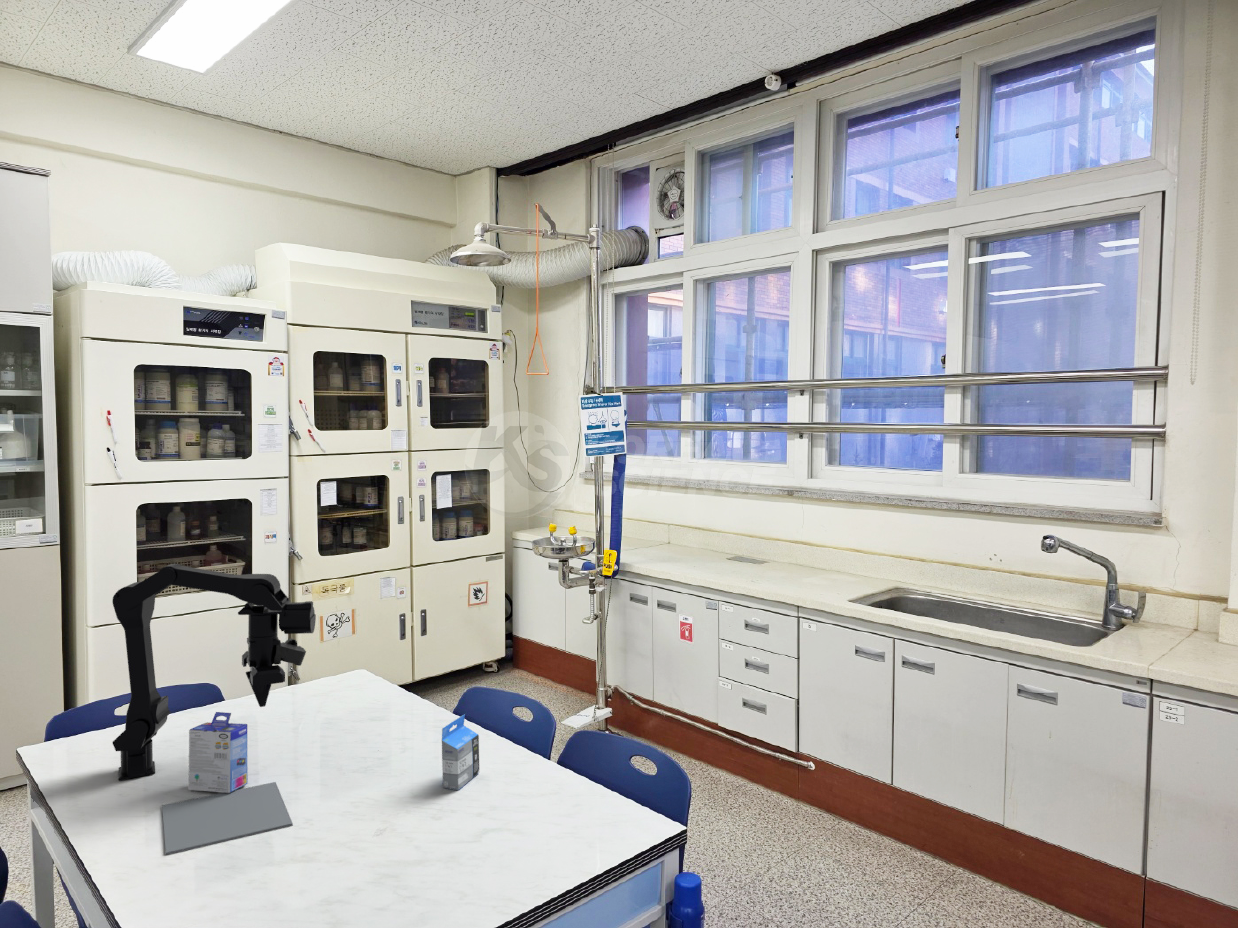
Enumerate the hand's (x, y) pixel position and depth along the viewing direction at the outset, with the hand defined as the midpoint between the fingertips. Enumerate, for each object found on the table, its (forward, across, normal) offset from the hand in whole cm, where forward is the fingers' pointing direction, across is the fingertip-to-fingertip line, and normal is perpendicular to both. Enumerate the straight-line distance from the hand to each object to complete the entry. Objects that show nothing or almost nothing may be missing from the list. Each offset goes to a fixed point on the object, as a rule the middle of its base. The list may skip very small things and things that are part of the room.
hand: (262, 706), depth 169 cm
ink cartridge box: (+13, -8, +9) cm, 18 cm away
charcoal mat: (+13, -22, +9) cm, 27 cm away
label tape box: (+12, -29, -34) cm, 46 cm away
